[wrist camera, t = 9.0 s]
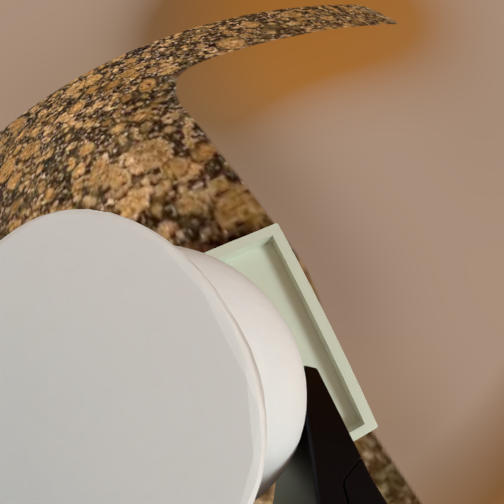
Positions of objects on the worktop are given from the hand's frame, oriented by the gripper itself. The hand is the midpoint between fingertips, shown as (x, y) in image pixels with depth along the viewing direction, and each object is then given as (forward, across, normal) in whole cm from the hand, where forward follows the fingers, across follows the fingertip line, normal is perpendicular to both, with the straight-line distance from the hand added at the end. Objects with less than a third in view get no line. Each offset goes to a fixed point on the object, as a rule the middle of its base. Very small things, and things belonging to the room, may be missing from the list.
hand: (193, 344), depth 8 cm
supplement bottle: (+4, 0, +6) cm, 7 cm away
